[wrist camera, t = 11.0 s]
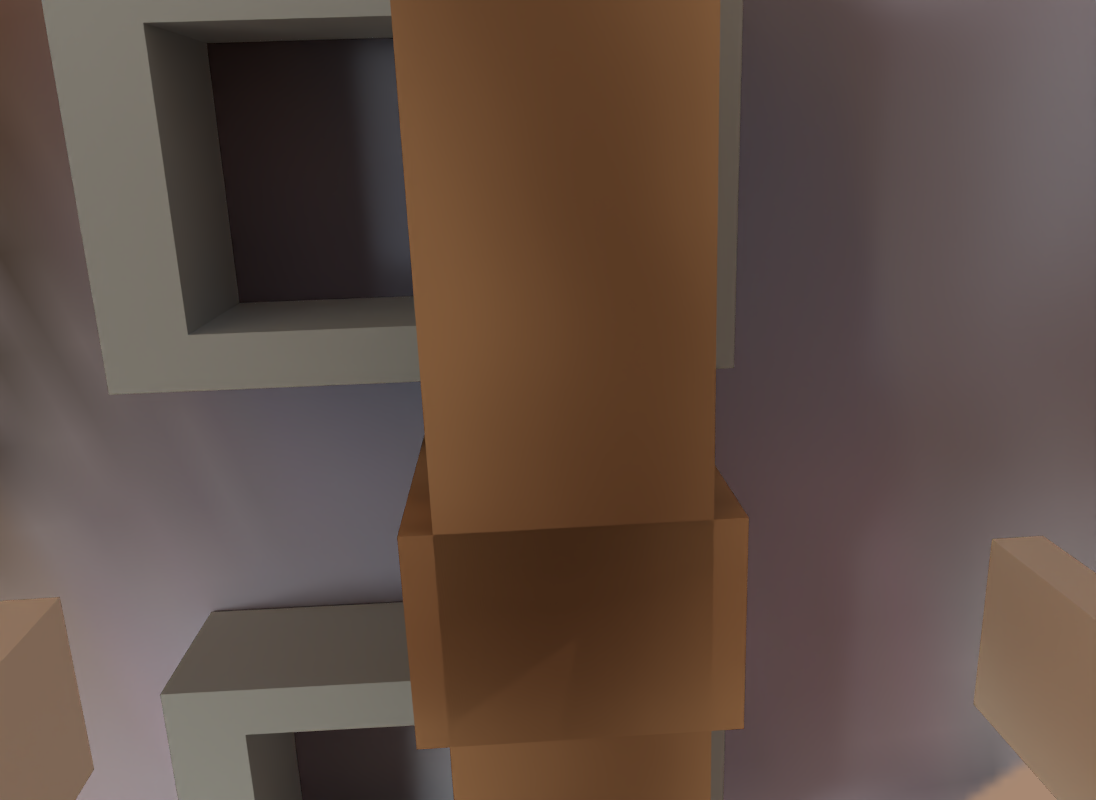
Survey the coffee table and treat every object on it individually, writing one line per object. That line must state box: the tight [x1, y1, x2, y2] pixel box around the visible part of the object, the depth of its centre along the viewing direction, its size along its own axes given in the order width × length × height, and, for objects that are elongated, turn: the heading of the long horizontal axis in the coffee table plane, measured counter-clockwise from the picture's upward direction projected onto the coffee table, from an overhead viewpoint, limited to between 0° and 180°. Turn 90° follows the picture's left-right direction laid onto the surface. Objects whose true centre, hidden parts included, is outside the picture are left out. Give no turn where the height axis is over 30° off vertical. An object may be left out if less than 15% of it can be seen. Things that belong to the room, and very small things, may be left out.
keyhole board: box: [41, 0, 743, 800], centre depth 19 cm, size 11×20×3 cm, turn 2°
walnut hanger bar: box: [390, 0, 749, 800], centre depth 17 cm, size 5×19×7 cm, turn 2°
